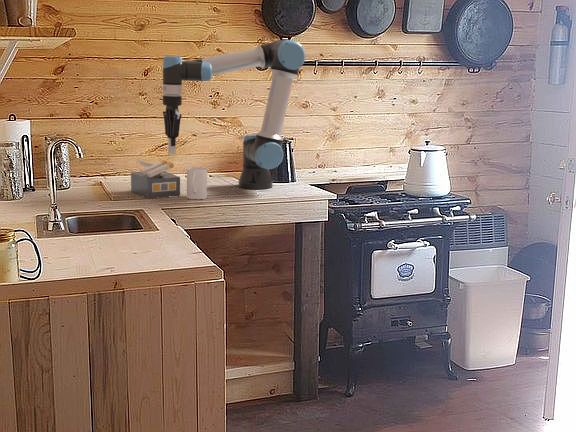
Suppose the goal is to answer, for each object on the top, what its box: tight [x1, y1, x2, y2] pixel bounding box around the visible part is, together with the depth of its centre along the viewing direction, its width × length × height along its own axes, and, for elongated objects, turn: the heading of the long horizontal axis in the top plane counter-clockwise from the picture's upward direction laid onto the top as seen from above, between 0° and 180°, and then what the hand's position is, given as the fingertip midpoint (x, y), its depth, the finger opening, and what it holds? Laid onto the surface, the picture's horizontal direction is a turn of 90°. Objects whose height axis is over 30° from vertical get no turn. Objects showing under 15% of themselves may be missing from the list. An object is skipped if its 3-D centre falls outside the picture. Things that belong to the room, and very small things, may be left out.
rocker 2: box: [139, 159, 168, 175], centre depth 314 cm, size 11×3×2 cm, turn 121°
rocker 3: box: [146, 162, 175, 178], centre depth 309 cm, size 11×3×2 cm, turn 121°
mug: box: [185, 166, 208, 200], centre depth 308 cm, size 12×8×12 cm
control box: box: [130, 171, 181, 199], centre depth 315 cm, size 14×18×10 cm
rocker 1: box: [136, 159, 155, 168], centre depth 319 cm, size 11×3×2 cm, turn 124°
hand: (171, 153), depth 310 cm, fingers closed
